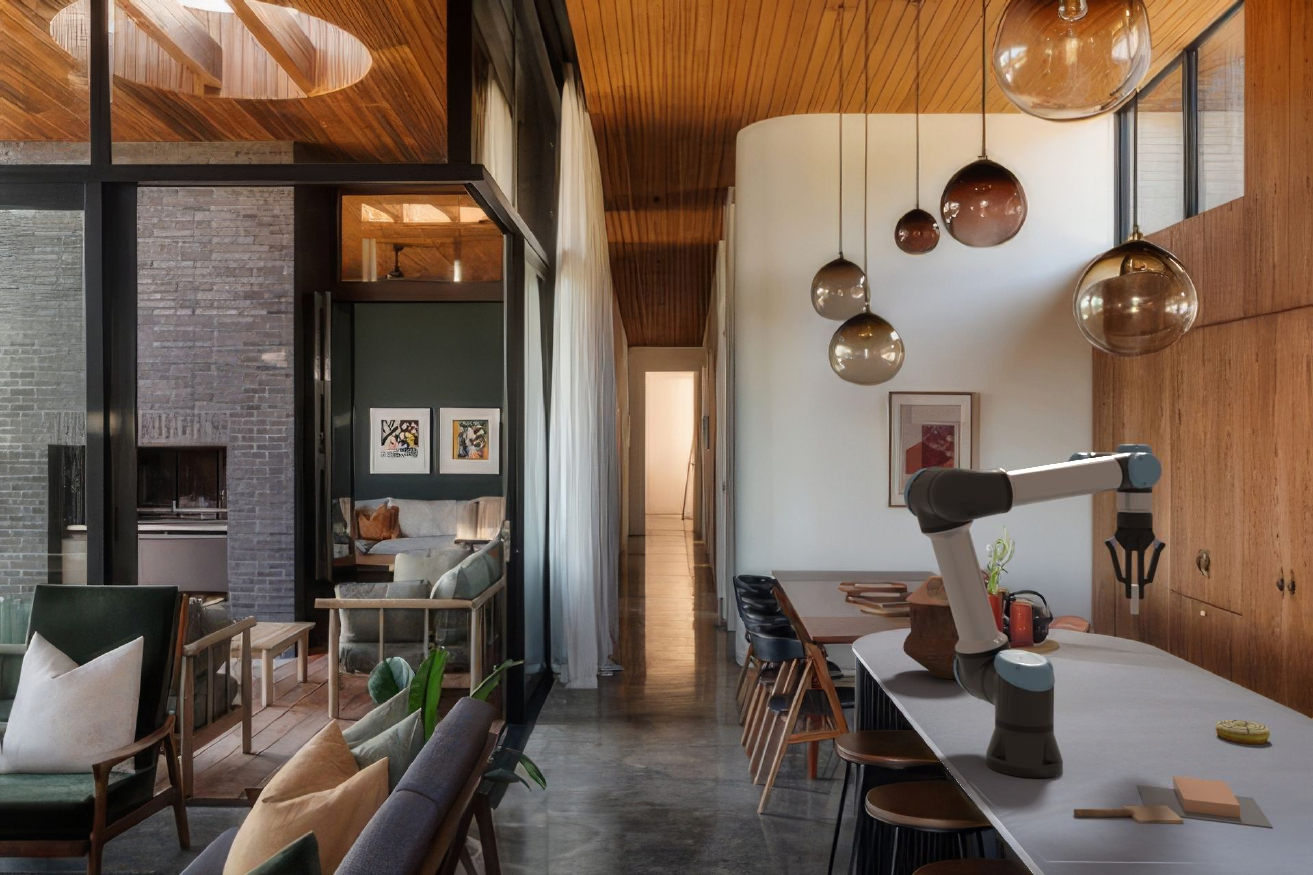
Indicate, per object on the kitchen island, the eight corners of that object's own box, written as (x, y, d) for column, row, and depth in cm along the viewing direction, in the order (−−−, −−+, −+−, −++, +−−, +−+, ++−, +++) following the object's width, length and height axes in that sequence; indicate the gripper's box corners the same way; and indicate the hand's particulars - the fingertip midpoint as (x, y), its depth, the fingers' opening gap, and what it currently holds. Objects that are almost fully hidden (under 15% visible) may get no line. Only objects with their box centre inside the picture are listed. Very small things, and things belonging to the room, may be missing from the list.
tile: (1173, 787, 195) (1184, 811, 182) (1173, 775, 195) (1184, 798, 182) (1225, 793, 192) (1240, 817, 179) (1225, 781, 192) (1240, 805, 179)
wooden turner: (1082, 824, 177) (1082, 816, 177) (1068, 809, 183) (1068, 802, 183) (1183, 822, 177) (1183, 815, 176) (1166, 808, 183) (1166, 801, 182)
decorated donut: (1233, 731, 238) (1233, 715, 238) (1279, 742, 229) (1279, 726, 229) (1206, 736, 234) (1206, 719, 234) (1251, 748, 224) (1251, 731, 224)
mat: (1146, 813, 181) (1146, 811, 181) (1137, 786, 196) (1137, 784, 196) (1272, 829, 174) (1272, 826, 174) (1252, 799, 189) (1252, 797, 189)
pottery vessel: (1000, 688, 280) (1000, 581, 280) (907, 684, 284) (907, 579, 284) (984, 668, 305) (985, 571, 306) (899, 665, 309) (900, 569, 310)
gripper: (1163, 511, 230) (1163, 612, 230) (1102, 509, 235) (1102, 609, 234) (1168, 512, 223) (1168, 617, 223) (1105, 511, 228) (1105, 613, 227)
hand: (1134, 613), depth 229 cm, fingers closed
